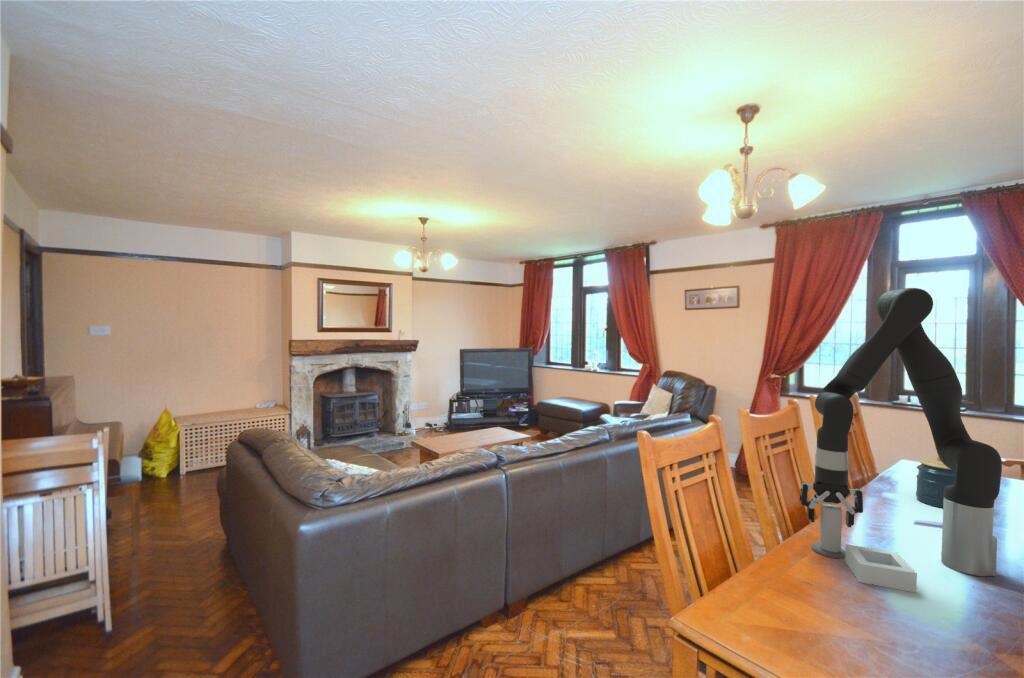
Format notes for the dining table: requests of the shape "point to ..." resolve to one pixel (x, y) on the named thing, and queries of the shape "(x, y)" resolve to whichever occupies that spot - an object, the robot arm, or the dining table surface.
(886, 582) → the pocket block
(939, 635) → the dining table surface
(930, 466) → the canister
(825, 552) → the coaster
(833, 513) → the beverage can
